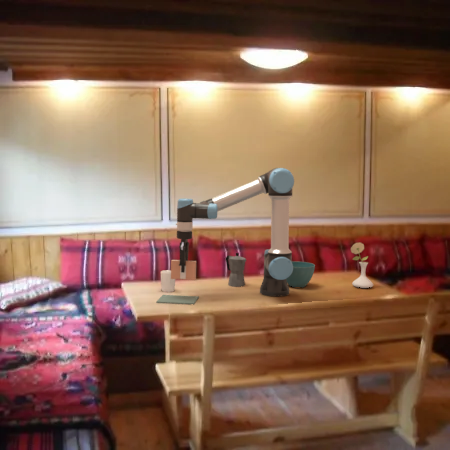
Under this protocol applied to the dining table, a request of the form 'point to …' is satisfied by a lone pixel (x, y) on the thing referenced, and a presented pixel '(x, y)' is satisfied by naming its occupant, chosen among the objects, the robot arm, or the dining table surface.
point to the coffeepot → (236, 270)
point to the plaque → (189, 270)
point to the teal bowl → (301, 274)
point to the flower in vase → (362, 280)
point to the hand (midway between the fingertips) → (183, 278)
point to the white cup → (167, 281)
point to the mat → (177, 299)
